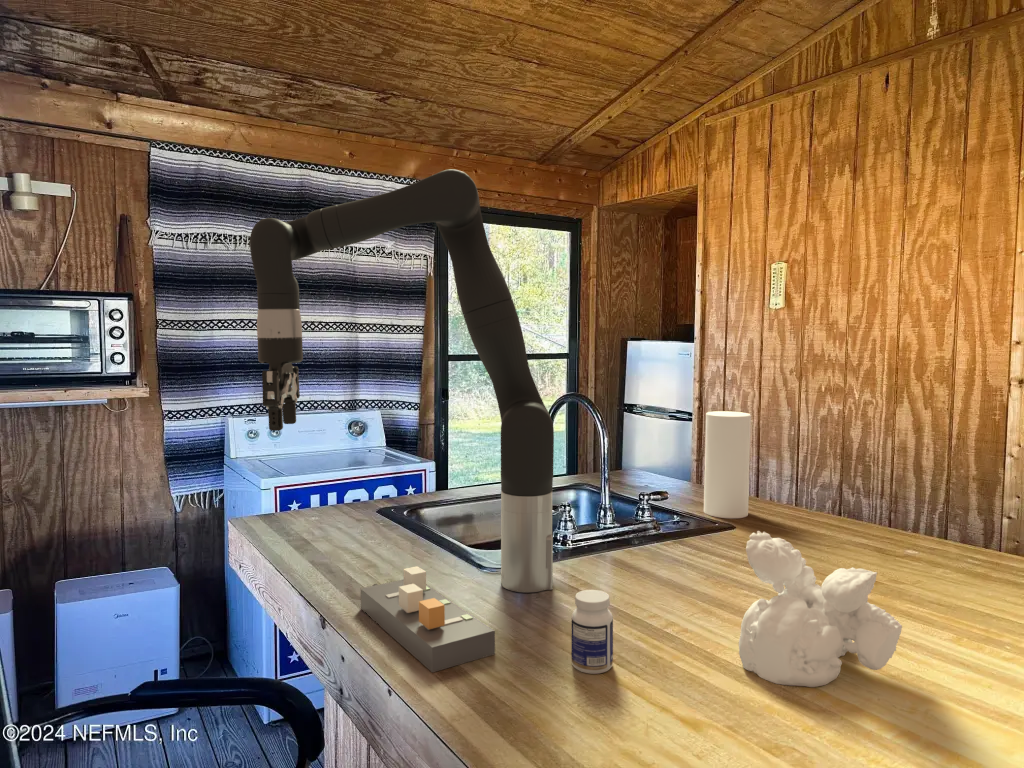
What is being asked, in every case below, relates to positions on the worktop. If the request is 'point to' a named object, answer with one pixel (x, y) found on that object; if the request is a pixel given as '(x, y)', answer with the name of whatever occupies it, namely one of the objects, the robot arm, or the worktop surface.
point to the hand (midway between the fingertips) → (283, 426)
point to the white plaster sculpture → (810, 619)
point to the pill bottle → (592, 632)
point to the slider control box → (430, 646)
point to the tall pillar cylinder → (727, 464)
